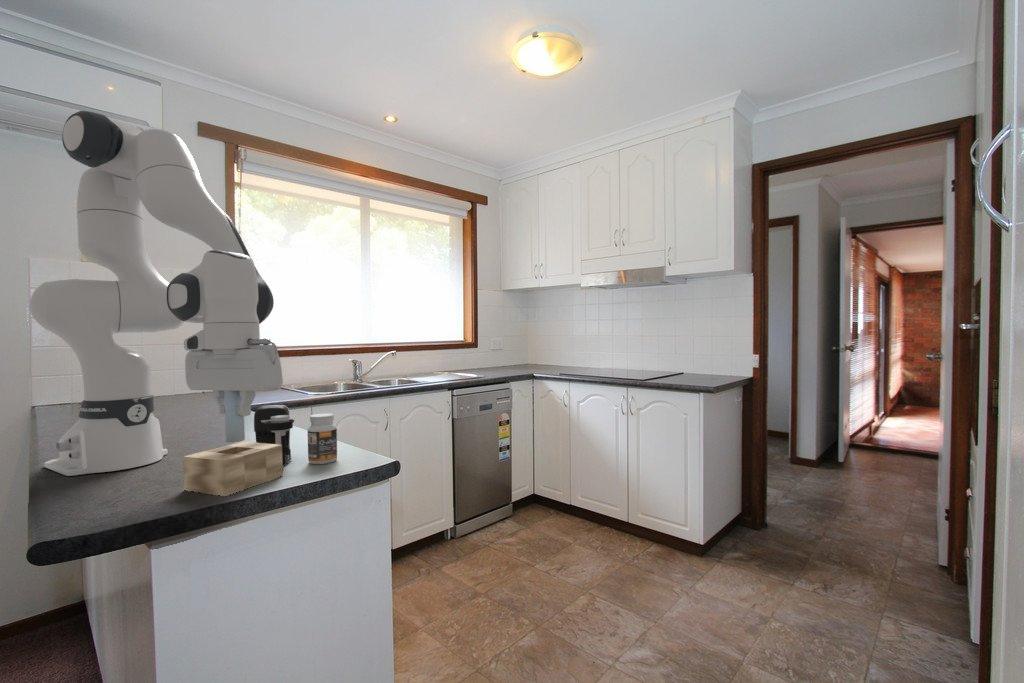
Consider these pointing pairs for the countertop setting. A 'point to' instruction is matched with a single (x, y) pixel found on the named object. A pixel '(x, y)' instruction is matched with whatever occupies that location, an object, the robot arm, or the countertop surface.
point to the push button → (281, 433)
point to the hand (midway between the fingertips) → (234, 415)
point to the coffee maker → (261, 428)
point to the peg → (233, 417)
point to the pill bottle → (322, 439)
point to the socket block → (232, 468)
